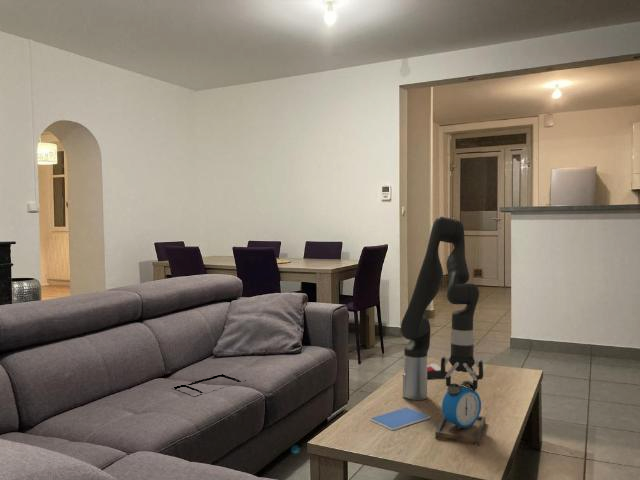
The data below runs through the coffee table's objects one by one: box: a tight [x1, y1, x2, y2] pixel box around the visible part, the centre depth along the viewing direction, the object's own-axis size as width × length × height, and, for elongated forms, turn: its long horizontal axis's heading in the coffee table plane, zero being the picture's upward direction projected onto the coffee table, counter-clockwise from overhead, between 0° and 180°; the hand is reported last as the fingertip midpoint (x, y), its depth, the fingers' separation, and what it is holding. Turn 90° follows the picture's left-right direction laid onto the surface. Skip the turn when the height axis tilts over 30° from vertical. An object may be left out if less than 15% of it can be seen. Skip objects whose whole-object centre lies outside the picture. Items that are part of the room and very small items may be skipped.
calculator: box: [427, 363, 446, 379], centre depth 247 cm, size 11×4×15 cm
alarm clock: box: [441, 380, 482, 429], centre depth 183 cm, size 13×6×15 cm, turn 121°
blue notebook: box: [369, 407, 431, 432], centre depth 193 cm, size 19×13×1 cm, turn 126°
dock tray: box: [434, 414, 486, 446], centre depth 183 cm, size 14×20×2 cm
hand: (461, 388), depth 183 cm, fingers closed on alarm clock, 7 cm apart
